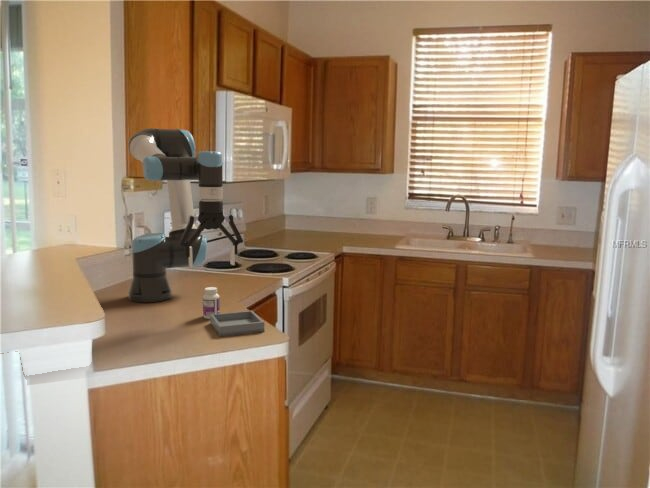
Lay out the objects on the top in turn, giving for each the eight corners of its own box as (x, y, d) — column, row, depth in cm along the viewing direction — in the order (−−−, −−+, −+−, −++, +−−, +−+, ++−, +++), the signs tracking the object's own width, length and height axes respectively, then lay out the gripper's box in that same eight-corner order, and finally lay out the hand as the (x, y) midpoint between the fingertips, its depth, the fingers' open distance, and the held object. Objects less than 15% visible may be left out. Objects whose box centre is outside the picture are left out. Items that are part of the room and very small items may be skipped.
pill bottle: (212, 313, 188) (212, 285, 186) (223, 316, 184) (222, 288, 183) (199, 317, 184) (199, 288, 182) (210, 320, 180) (209, 291, 179)
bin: (219, 336, 164) (219, 326, 164) (210, 323, 177) (210, 314, 176) (264, 331, 170) (264, 322, 169) (252, 319, 182) (252, 310, 182)
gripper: (172, 201, 170) (174, 270, 174) (252, 200, 180) (252, 265, 184) (168, 199, 177) (170, 266, 180) (245, 198, 187) (246, 261, 190)
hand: (211, 265), depth 182 cm, fingers open, 13 cm apart
